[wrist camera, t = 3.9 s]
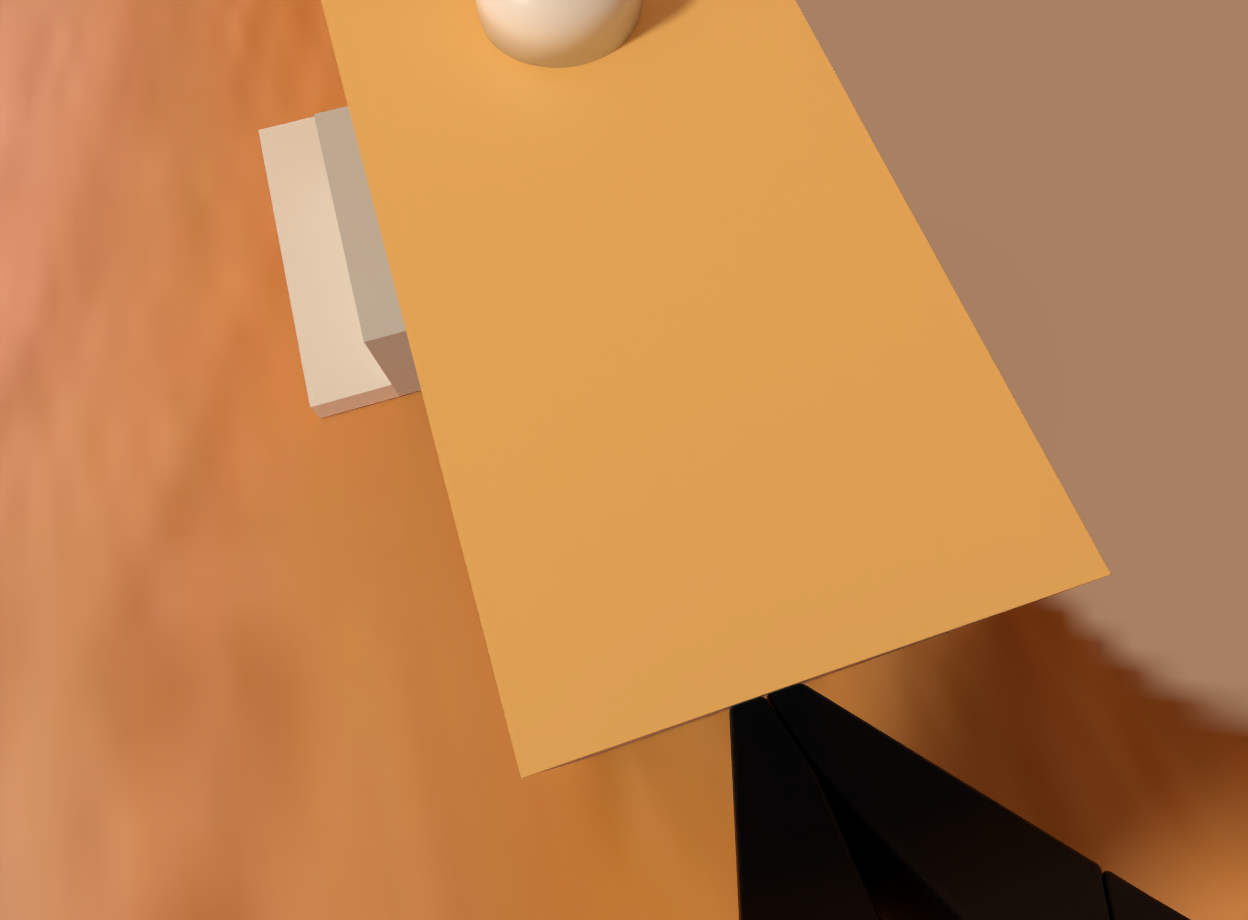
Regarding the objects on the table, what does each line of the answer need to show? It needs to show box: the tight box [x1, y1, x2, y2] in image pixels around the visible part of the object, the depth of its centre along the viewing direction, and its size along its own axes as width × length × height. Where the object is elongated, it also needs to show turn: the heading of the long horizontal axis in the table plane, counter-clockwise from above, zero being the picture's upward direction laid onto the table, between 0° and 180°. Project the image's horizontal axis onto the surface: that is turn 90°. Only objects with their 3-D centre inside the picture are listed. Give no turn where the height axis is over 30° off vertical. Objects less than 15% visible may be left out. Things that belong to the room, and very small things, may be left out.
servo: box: [321, 0, 1111, 778], centre depth 12 cm, size 10×5×10 cm, turn 18°
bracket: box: [259, 106, 421, 418], centre depth 18 cm, size 8×13×2 cm, turn 107°
